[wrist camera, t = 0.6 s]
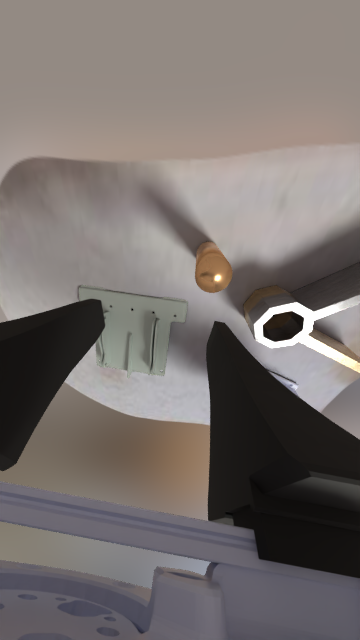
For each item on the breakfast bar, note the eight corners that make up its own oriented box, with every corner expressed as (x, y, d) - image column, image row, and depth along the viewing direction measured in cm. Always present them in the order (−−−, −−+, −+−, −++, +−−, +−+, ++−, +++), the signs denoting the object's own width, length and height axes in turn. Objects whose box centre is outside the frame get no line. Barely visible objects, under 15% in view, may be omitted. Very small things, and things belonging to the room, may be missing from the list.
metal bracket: (174, 391, 22) (77, 375, 23) (178, 367, 28) (99, 355, 28) (189, 295, 18) (68, 277, 18) (189, 290, 23) (96, 276, 24)
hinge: (462, 273, 15) (549, 291, 11) (323, 358, 23) (347, 385, 19) (347, 181, 12) (412, 164, 9) (235, 313, 20) (243, 334, 16)
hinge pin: (223, 248, 16) (240, 268, 9) (210, 268, 17) (218, 298, 11) (203, 237, 16) (207, 249, 9) (192, 258, 17) (188, 283, 10)
